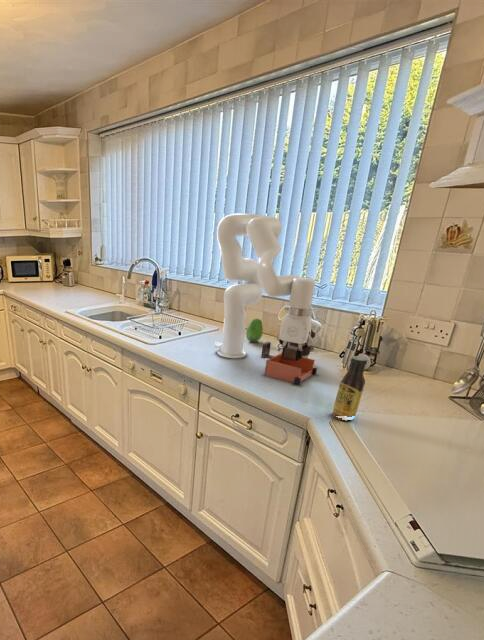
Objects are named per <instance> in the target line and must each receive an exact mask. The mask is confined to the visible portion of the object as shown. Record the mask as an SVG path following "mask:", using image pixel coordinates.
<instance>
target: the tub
mask: <svg viewBox="0 0 484 640" xmlns="http://www.w3.org/2000/svg"><path fill="white" fill-rule="evenodd" d="M271 346H272V342H271V341H266V342H264V343H262V348H261V353H260V354H261V355H260V358H261V359H266V362H265V369H264V376H268V377H271V378H274V379H279V380H281V381H286V382H289V383H292V384H294V379H295V377H297V378H301V382H303V381H304V380H306V379H308V378H309V377H311V376H312V372H313V367H314V366H315V361H316V359H312V358H309V357H308V358H303V357H302V358H301V359H300V360H298V361H291V360H287V359H283V355H282V352H280V353H278V354H276V355H272V354H270V352H271ZM314 368H315V367H314Z"/></svg>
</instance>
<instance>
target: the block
mask: <svg viewBox="0 0 484 640" xmlns="http://www.w3.org/2000/svg"><path fill="white" fill-rule="evenodd" d="M298 350H299V347H296V346H291V345H290V346H289V345H288V347H286V348H285V351H284V357H283V359H287V360H291V361H296V356H297V351H298Z"/></svg>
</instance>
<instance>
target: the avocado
mask: <svg viewBox="0 0 484 640" xmlns="http://www.w3.org/2000/svg"><path fill="white" fill-rule="evenodd" d="M263 332H264V329H263V323H262V320H261V319H259V318H253V319H252V320H251V321H250V322H249V324H248V326H247V328H246V330H245V337H246V339H247V340H248V341H249V342H250V343H257V342H259V341H260V340H261V339H262V336H263Z"/></svg>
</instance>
